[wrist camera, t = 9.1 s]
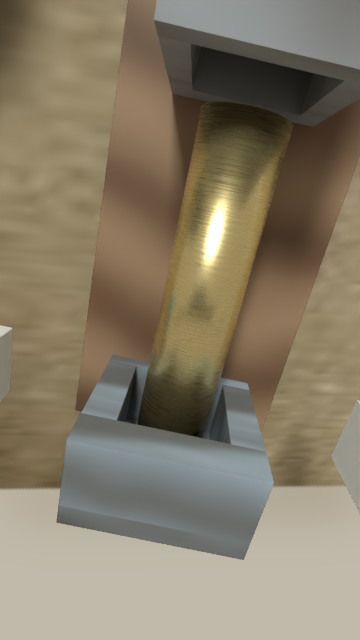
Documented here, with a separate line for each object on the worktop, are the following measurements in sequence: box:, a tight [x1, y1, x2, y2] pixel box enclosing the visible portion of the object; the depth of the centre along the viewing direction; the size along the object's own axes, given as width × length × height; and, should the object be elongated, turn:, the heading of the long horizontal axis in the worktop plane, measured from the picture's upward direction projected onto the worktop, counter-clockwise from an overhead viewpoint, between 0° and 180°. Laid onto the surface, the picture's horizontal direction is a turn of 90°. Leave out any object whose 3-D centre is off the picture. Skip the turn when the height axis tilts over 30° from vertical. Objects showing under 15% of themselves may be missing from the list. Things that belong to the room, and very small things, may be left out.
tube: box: [136, 102, 293, 438], centre depth 16 cm, size 16×4×4 cm, turn 168°
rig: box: [57, 0, 360, 560], centre depth 15 cm, size 27×12×9 cm, turn 168°
